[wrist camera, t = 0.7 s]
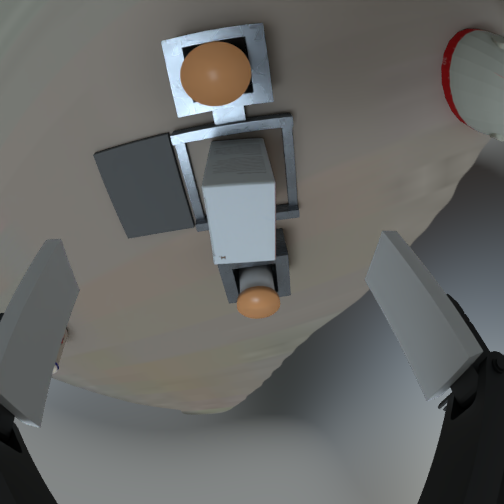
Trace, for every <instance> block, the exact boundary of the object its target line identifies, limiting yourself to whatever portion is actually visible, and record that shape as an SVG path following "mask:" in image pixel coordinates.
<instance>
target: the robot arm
mask: <svg viewBox="0 0 504 504" xmlns="http://www.w3.org/2000/svg"><path fill="white" fill-rule="evenodd" d="M365 281H366V283H367V285H368V286H369V288H370V290H371V292H372V293H373V295H374V297H375V299H376V300H377V302H378V304H379V306H380V308H381V310H382V311H383V313H384V315H385V317H386V319H387V321H388V323H389V324H390V326H391V328H392V330H393V332H394V334H395V336H396V338H397V340H398V342H399V344H400V346H401V348H402V350H403V352H404V354H405V356H406V358H407V360H408V362H409V364H410V366H411V368H412V370H413V372H414V374H415V377H416V379H417V381H418V383H419V385H420V387H421V390H422V392H423V394H424V396H425V398H426V401H429V400H431V399H434V398H436V397H439V396H441V395H442V394H443V393H444V392H445V391H446V390H447V389H449V388H451V390H452V393H451V394H450V395H449V396H447V397H446V398H445V399H444V400H443V401H442V402H441V403H440V404H439V406H438V408H439V409H440V408H441V407H442V406H444V405H445V404H446V403H447V406H446V407H445V408H444V409H443V410H444V411H446V412H445V417H444V421H443V425H442V430H441V434H440V438H439V441H438V445H437V449H436V452H435V456H434V459H433V462H432V465H431V468H430V471H429V474H428V477H427V480H426V483H425V486H424V488H423V491H422V494H421V496H420V499H419V501H418V504H504V355H502V354H501V353H500V352H496V351H493V352H490V351H489V349H488V348H487V346H486V345H485V343H484V342H483V340H482V338H481V337H480V335H479V334H478V332H477V330H476V329H475V327H474V326H473V324H472V323H471V322H470V321H469V318H468V317H467V315H466V314H464V311H463V309H462V308H461V307H460V305H459V304H458V302H457V301H455V300H454V299H453V298H452V297H451V296H450V295H449V294H445V292H444V291H443V290H442V288H441V287H440V285H439V284H438V283H437V281H436V280H435V279H434V277H433V276H432V275H431V273H430V272H429V271H428V270H427V268H426V267H425V266H424V264H423V263H422V262H421V261H420V259H419V258H418V257H417V255H416V254H415V253H414V252H413V250H412V249H411V248H410V247H409V246H408V244H407V243H406V242H405V241H404V239H403V238H402V237H401V236H400V235H399V234H398V232H397V231H382V233H381V236H380V239H379V242H378V245H377V248H376V250H375V253H374V256H373V259H372V262H371V264H370V267H369V270H368V272H367V275H366V278H365ZM79 291H80V289H79V287H78V284H77V282H76V279H75V277H74V274H73V271H72V269H71V266H70V263H69V261H68V258H67V255H66V252H65V249H64V246H63V243H62V240H61V239H50V240H46V241H45V242H44V244H43V246H42V247H41V249H40V250H39V252H38V253H37V255H36V257H35V258H34V260H33V262H32V263H31V265H30V267H29V268H28V270H27V272H26V273H25V275H24V277H23V279H22V280H21V282H20V284H19V286H18V288H17V289H16V291H15V293H14V295H13V297H12V299H11V301H10V303H9V305H8V307H7V309H6V311H5V313H0V504H57V502H56V500H55V499H54V497H53V496H52V494H51V492H50V491H49V489H48V487H47V486H46V484H45V482H44V480H43V479H42V477H41V475H40V473H39V471H38V470H37V468H36V466H35V464H34V462H33V460H32V458H31V456H30V454H29V452H28V450H27V447H26V445H25V444H24V441H23V439H22V436H21V434H20V432H19V429H18V428H17V426H16V424H15V423H14V422H13V421H14V417H16V418H18V419H19V420H20V421H21V422H23V423H24V424H28V425H31V426H35V427H39V428H40V427H41V422H42V416H43V412H44V407H45V402H46V398H47V393H48V389H49V385H50V380H51V377H52V373H53V369H54V366H55V362H56V359H57V355H58V352H59V348H60V345H61V342H62V339H63V336H64V333H65V329H66V326H67V324H68V321H69V318H70V315H71V312H72V309H73V307H74V304H75V301H76V298H77V296H78V293H79Z"/></svg>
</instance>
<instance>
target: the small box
mask: <svg viewBox="0 0 504 504" xmlns="http://www.w3.org/2000/svg"><path fill="white" fill-rule="evenodd" d="M202 192H203V197H204V201H205V207H206V213H207V219H208V225H209V231H210V238H211V244H212V251H213V260H214V264H229V263H243V262H259V261H271V260H276V181H275V178H274V174H273V171H272V167H271V163H270V160H269V157H268V153H267V150H266V146H265V143H264V139H263V138H252V139H235V140H222V141H212V142H211V145H210V150H209V154H208V159H207V164H206V168H205V173H204V178H203V183H202Z"/></svg>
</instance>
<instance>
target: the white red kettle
mask: <svg viewBox="0 0 504 504" xmlns="http://www.w3.org/2000/svg"><path fill="white" fill-rule="evenodd" d="M441 71H442V85H443V90H444V94H445V98H446V100H447V102H448V104H449V106H450V108H451V111H452V112H453V113H454V114H455V115H456V117H457V118H458V119H459V120H460V121H461V122H463V123H465V124H466V125H468V126H469V127H471V128H473V129H474V130H476V131H478V132H480V133H483V134H487V135H490V137H491V138H494V139H496V140H499V141H501V142H504V37H502V36H500V35H496V34H493V33H491V32H488V31H485V30H479V29H465V30H463V31H460V32H458V33H457V34H456V35H455V36H454V37H453V38H452V39H451V40H450V41H449V43H448V45H447V48H446V50H445V52H444V56H443V61H442V67H441Z"/></svg>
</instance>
